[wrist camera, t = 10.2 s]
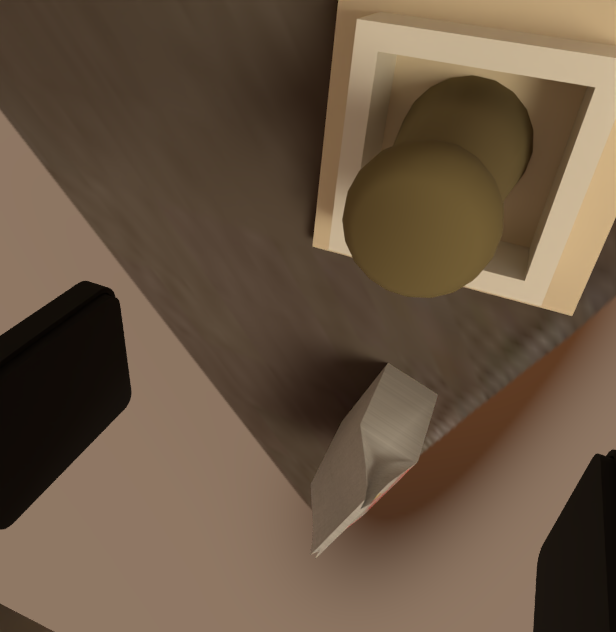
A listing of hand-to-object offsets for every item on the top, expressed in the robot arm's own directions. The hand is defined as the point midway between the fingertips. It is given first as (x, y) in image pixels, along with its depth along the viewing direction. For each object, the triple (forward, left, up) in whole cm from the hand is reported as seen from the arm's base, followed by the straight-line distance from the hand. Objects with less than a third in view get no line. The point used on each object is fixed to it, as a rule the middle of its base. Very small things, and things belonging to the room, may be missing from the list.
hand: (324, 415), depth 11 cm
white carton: (+18, -1, -20) cm, 27 cm away
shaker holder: (0, 0, -20) cm, 20 cm away
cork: (0, 0, -19) cm, 19 cm away
